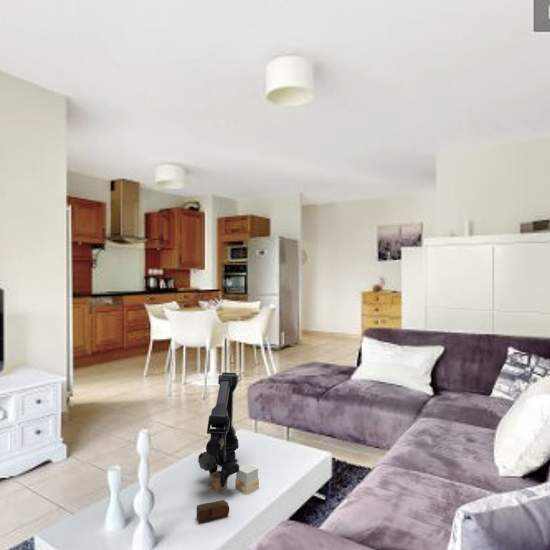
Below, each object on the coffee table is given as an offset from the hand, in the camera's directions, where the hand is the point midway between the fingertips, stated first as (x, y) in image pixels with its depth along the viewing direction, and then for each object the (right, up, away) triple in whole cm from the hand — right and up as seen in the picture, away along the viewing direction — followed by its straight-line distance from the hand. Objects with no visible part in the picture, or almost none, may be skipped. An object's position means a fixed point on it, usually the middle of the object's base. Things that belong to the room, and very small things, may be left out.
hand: (218, 484), depth 163 cm
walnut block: (0, -1, 0) cm, 1 cm away
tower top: (+12, +3, -1) cm, 12 cm away
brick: (+1, -1, -21) cm, 21 cm away
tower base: (+12, -1, -1) cm, 12 cm away
